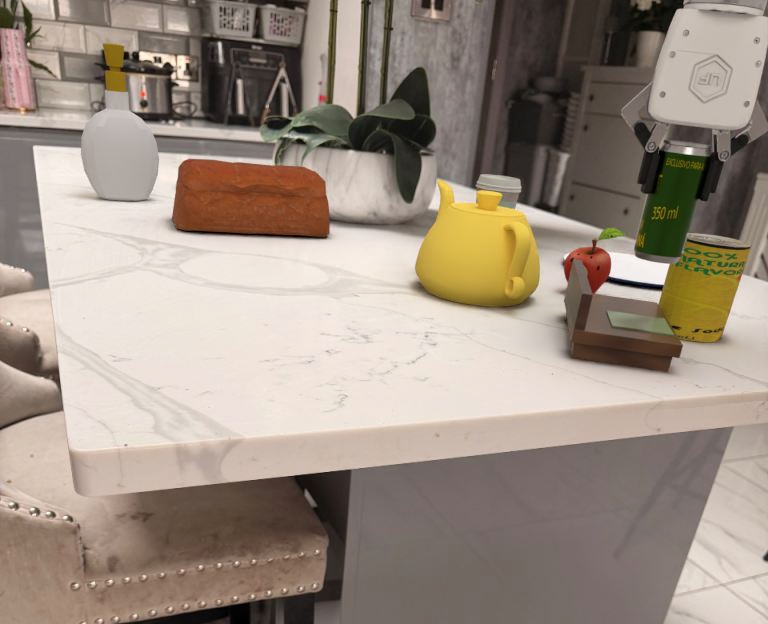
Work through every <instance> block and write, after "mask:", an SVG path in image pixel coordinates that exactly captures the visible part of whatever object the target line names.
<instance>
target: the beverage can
mask: <svg viewBox="0 0 768 624" xmlns="http://www.w3.org/2000/svg"><path fill="white" fill-rule="evenodd" d="M751 248H752V244H751V243H748V242H746V241H743V240H740V239H736V238H731V237H727V236H722V235H717V234H710V233H701V232H689V235H688V239H687V242H686V246H685V249H684V253H683V256H682V258H681V259H680V260H679V262H678V263H676V264H670V265H669V268H668V272H667V275H666V279H665V283H664V286H663V287H662V290H661V293H660V297H659V300H658V303H657V304H658V305H659V307H660V308H661V310H662V312H663V313H664V315H665V317H666V318H667V320H668V321H669V323H670V325H671V326H672V328H673V330H674V331H675V333H676V334H677V336H678V338H679V339H680V340H685V341H691V342H700V343H716V342H719V341H720V340H722V337H723V334H724V332H725V328H726V325H727V322H728V319H729V316H730V313H731V309H732V306H733V305H734V301H735V298H736V294H737V291H738V288H739V285H740V282H741V280H742V276H743V273H744V269H745V267H746V264H747V261H748V258H749V255H750V251H751Z"/></svg>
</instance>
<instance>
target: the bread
mask: <svg viewBox="0 0 768 624" xmlns="http://www.w3.org/2000/svg"><path fill="white" fill-rule="evenodd" d="M326 185H327V184H326V181H325V179H324V178H323V177H322V176H321V175H320V174H319V173H318V172H317V171H316V170H312V169H310V168H308V167H305V166H297V165H282V164H281V165H280V164H275V165H274V164H273V165H271V164H262V163H261V164H260V163H250V162H241V161H233V162H231V161H230V162H229V161H225V160H218V159H208V158H207V159H206V158H187V159H185V160H182V162H181V163H180V164H179V166H178V169H177V179H176V183H175V192H174V193H175V194H174V200H173V207H172V214H171V220H172V222H173V223H174V225H175V228H176V229H178V230H182V231H188V232H189V231H192V232H193V231H195V232H209V233H229V234H230V233H231V234H244V235H245V234H246V235H273V236H301V237H319V238H321V237H325V238H326V237H328V236H329V235H330V233H331V218H330V215H331V214H330V207H329V204H330V203H329V199H328V196H327V189H326V188H327V186H326Z"/></svg>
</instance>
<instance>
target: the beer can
mask: <svg viewBox="0 0 768 624" xmlns="http://www.w3.org/2000/svg"><path fill="white" fill-rule="evenodd" d="M662 141H663V142H662V143H663V144H662V145H661V146H660V147H659V151H658V154H659V155H660V159H659V163H658V167H657V171H656V175H655V179H654V183H653V187H652V190H651V193H649V194H647V195H646V199H645V204H644V208H643V211H642V216H641V219H640V224H639V227H638V231H637V235H636V239H635V244H634V249H633V250H634V255H635V256H636V257H637V258H640V259H643V260H647V261H651V262H657V263H666V264H676V263H678V262H679V260H680V259H681V258H682V256H683V253H684V249H685V246H686V242H687V239H688V235H689V232H690V231H691V228H692V225H693V221H694V217H695V215H696V210H697V207H698V204H699V200H700V199H699V197H700V193H701V190H702V186H703V183H704V179H705V176H706V172H707V168H708V165H709V161H710V158H711V149H712V147H713V144H707V143H700V142H692V141H685V140H677V139H676V140H675V139H666V138H665V139H664V138H663V140H662Z"/></svg>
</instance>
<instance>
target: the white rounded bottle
mask: <svg viewBox="0 0 768 624" xmlns="http://www.w3.org/2000/svg"><path fill="white" fill-rule="evenodd" d="M102 49H103V53H104V57H105V63H106V66H107V67H109V70H104V76H105V89H104V98H105V99H104V101H105V108H104V109H102V110H100V111H98V112H96V113H94V114H93V115H92V116H91V117H90V118H89V120H88V121H86V123H85V125H84V127H83V131H82V135H81V137H80V138H81V139H80V140H81V141H80V142H81V143H80V157H81V161H82V167H83V171H84V173H85V175H86V177H87V179H88V181H89V183H90V185H91V187H92V189H93V191H94V192H95V193H96V196H98V197H100V198H101V199H104V200H106V201H122V202H141V201H145V200H147V199H148V198H149V197H150V195H151V193H152V191H153V190H154V187H155V184H156V181H157V179H158V175H159V164H160V157H159V156H160V155H159V148H158V143H157V141H156V138H155V136H154V133H153V131H152V129H151V128H150V127H149V125H148V124H147V123H146V122H145V121H144V119H143V118H141V116H139V115H137V114H135V113H134V112H132V111H131V110H130V99H129V96H130V95H129V91H127V78H126V72H124V71H121V68H124V55H125V45H122V44H117V43H109V42H106V43H102Z"/></svg>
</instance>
